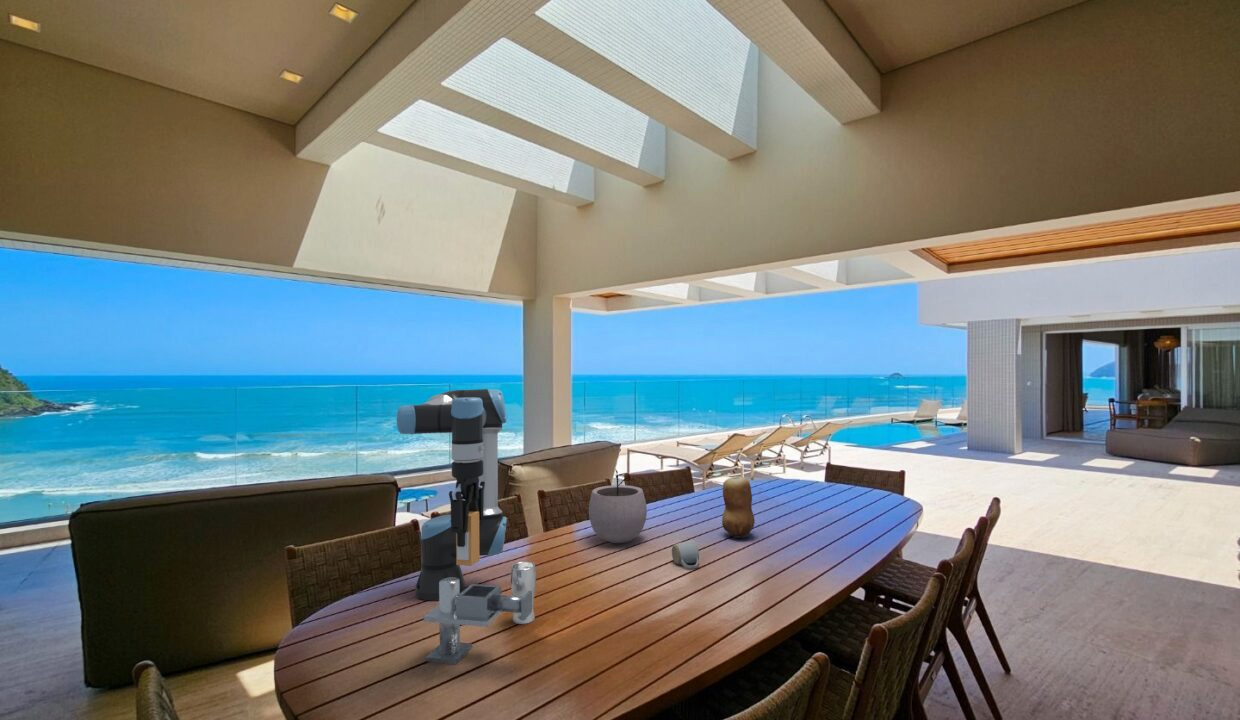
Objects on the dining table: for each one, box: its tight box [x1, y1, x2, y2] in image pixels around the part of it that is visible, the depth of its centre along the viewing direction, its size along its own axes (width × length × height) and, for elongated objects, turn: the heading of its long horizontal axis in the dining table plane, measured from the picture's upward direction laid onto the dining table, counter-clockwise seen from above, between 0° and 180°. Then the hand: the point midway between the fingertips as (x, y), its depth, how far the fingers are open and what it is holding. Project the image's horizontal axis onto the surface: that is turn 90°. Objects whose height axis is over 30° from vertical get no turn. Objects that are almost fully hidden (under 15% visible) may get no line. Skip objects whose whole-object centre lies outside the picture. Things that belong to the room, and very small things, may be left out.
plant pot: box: [588, 468, 648, 544], centre depth 219 cm, size 24×24×30 cm
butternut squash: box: [721, 476, 755, 539], centre depth 222 cm, size 14×13×25 cm
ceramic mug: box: [671, 539, 700, 570], centre depth 191 cm, size 11×8×8 cm
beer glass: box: [510, 561, 537, 625], centre depth 150 cm, size 7×7×15 cm
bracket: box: [456, 583, 532, 621], centre depth 129 cm, size 17×8×5 cm, turn 78°
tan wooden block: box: [456, 511, 480, 567], centre depth 130 cm, size 4×4×12 cm
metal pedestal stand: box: [423, 577, 502, 665], centre depth 131 cm, size 16×10×18 cm, turn 78°
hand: (468, 555), depth 130 cm, fingers closed on tan wooden block, 4 cm apart
